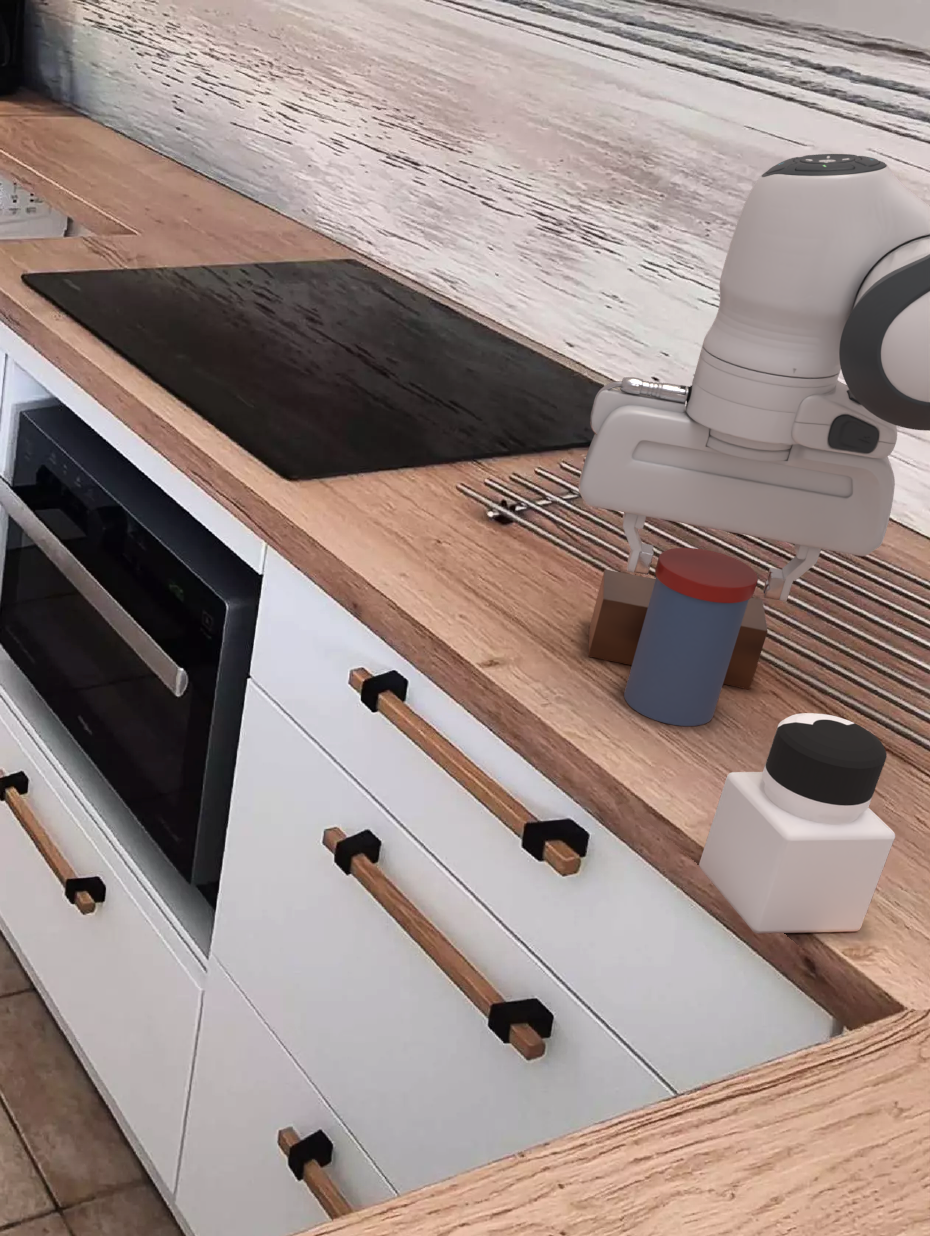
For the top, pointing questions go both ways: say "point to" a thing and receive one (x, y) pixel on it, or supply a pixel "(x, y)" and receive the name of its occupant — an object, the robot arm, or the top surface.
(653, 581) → the block
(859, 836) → the medicine bottle
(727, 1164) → the top surface
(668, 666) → the container
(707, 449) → the robot arm
